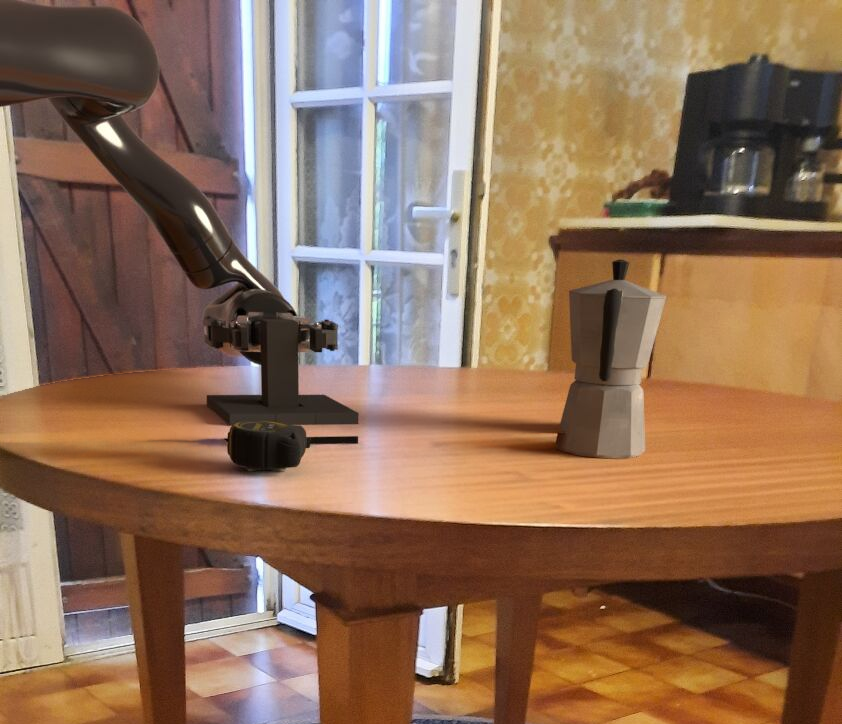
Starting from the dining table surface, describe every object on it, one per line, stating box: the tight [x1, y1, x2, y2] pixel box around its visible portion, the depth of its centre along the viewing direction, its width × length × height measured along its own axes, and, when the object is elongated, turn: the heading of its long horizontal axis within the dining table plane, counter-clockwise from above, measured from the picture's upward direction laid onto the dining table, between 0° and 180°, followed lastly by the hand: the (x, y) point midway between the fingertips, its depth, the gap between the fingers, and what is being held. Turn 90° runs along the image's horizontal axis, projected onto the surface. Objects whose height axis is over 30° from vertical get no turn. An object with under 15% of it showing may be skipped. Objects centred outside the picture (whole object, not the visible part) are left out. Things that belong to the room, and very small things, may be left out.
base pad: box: [206, 394, 360, 445], centre depth 111 cm, size 13×13×3 cm
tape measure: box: [226, 421, 312, 472], centre depth 94 cm, size 7×7×4 cm
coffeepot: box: [554, 258, 667, 459], centre depth 106 cm, size 15×9×18 cm, turn 167°
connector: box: [260, 319, 300, 407], centre depth 109 cm, size 3×3×11 cm
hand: (282, 340), depth 106 cm, fingers open, 7 cm apart
